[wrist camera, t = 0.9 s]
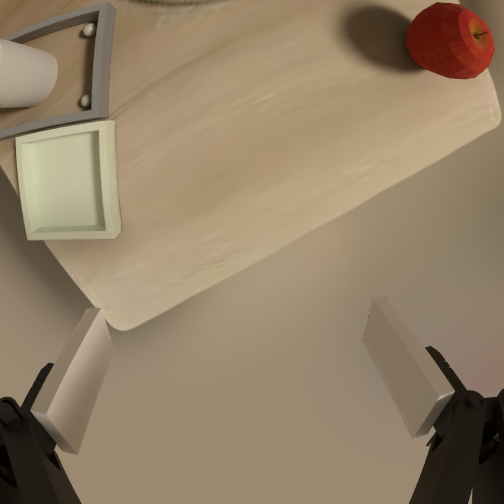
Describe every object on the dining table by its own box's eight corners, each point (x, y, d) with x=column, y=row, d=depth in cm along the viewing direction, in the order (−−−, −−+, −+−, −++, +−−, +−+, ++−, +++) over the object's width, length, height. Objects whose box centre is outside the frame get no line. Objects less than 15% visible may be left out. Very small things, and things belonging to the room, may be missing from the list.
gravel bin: (-16, 55, 23) (-27, 53, 21) (116, 9, 25) (108, 1, 23) (-20, 145, 29) (-32, 148, 26) (108, 117, 31) (99, 117, 28)
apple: (404, 87, 32) (474, 80, 19) (378, 19, 28) (439, -13, 15) (455, 78, 31) (524, 76, 18) (433, 17, 27) (496, -4, 14)
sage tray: (27, 135, 30) (15, 137, 27) (115, 120, 31) (106, 120, 29) (38, 232, 36) (27, 240, 33) (122, 230, 37) (114, 238, 34)
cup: (6, 86, 27) (-50, 85, 16) (40, 41, 25) (-13, 24, 14) (31, 119, 29) (-27, 124, 18) (67, 71, 28) (13, 59, 17)
